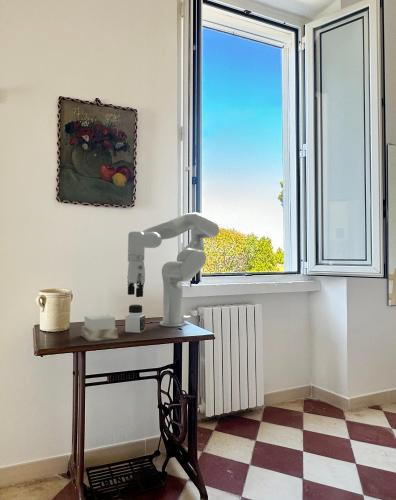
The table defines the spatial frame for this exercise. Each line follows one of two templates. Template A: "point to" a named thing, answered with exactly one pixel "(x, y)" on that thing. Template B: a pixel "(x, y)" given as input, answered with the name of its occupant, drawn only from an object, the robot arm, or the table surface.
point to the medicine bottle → (135, 319)
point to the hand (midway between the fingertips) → (135, 295)
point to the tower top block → (99, 322)
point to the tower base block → (99, 334)
